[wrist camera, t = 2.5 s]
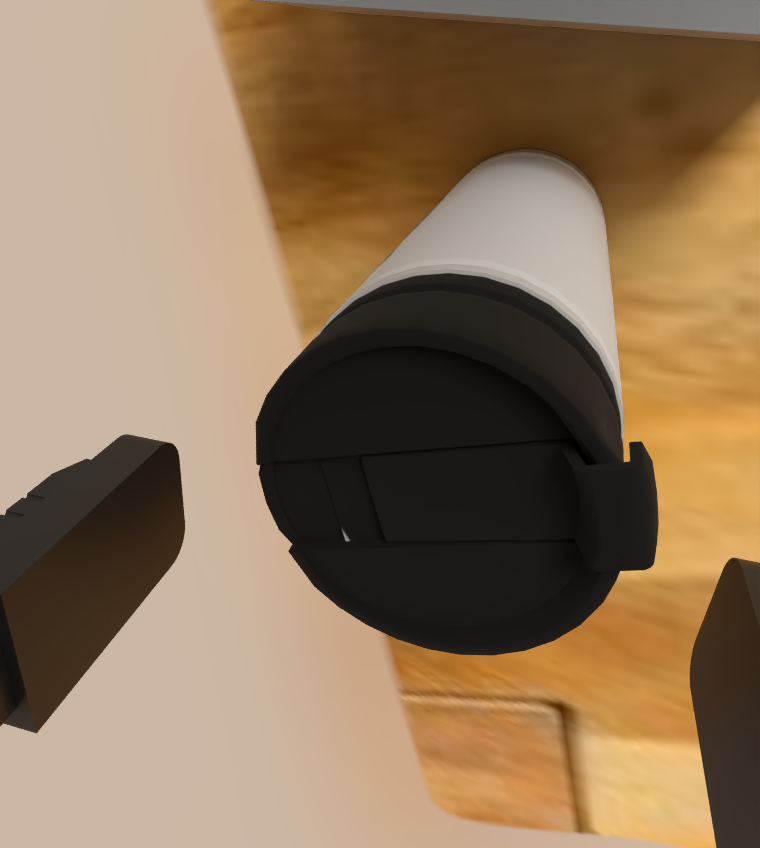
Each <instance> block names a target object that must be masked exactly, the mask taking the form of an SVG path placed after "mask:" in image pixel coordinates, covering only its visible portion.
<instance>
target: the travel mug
mask: <svg viewBox="0 0 760 848" xmlns="http://www.w3.org/2000/svg"><path fill="white" fill-rule="evenodd" d="M623 443H624V412H623V403H622V391H621V381H620V370H619V360H618V349H617V339H616V329H615V318H614V308H613V297H612V287H611V276H610V266H609V255H608V245H607V234H606V224H605V216H604V211H603V207H602V202H601V200H600V198H599V196H598V193H597V191H596V189H595V187H594V185H593V184H592V183H591V181H590V180H589V179H588V177H587V176H586V175H585V173H583V172H582V171H581V170H580V169H579V168H578V167H576V166H575V165H574V164H573V163H572V162H570V161H568V160H566V159H564V158H562V157H561V156H559V155H557V154H553V153H550V152H546V151H543V150H535V149H518V150H511V151H506V152H503V153H500V154H497V155H494V156H492V157H490V158H488V159H486V160H485V161H483V162H481V163H480V164H478V165H476V166H475V167H474V168H473V169H472V170H471V171H470V172H469V173H467V174H466V175H465V176H464V177H463V178H462V179H461V180H460V182H459V183H458V184H457V185H456V186H455V187H454V188H453V189H452V190H451V191H450V192H449V193H448V194H447V195H446V196H445V197H444V198H443V199H442V200H441V201H440V202H439V203H438V205H437V206H436V207H435V208H434V209H433V210H432V211H431V212H430V213H429V214H428V215H427V216H426V217H425V218H424V219H423V220H422V221H421V222H420V223H419V224H418V226H417V227H416V228H415V229H414V230H413V231H412V232H411V233H410V234H409V235H408V236H407V237H406V238H405V239H404V240H403V241H402V242H401V243H400V244H399V245H398V247H397V248H396V249H395V250H394V251H393V252H392V253H391V254H390V255H389V256H388V257H387V258H386V259H385V260H384V261H383V262H382V263H381V264H380V265H379V267H378V268H377V269H376V270H375V271H374V272H373V273H372V274H371V275H370V276H369V277H368V278H367V279H366V280H365V281H364V282H363V283H362V284H361V285H360V286H359V288H358V289H357V290H356V291H355V292H354V293H353V294H352V295H351V296H350V297H349V298H348V299H347V300H346V301H345V302H344V304H343V305H342V306H341V307H340V308H339V309H338V310H337V311H336V312H335V313H334V314H333V315H332V316H331V317H330V318H329V320H328V321H327V323H326V324H325V325H324V327H323V328H322V329H321V331H320V332H319V333H318V335H317V336H316V337H315V339H314V340H313V341H312V342H311V343H310V344H309V345H308V346H307V347H306V348H305V349H304V350H303V351H302V352H301V354H300V355H299V356H298V357H297V358H296V359H295V360H294V361H293V362H292V363H291V364H290V365H289V366H288V368H287V369H286V370H285V371H284V372H283V373H282V375H281V376H280V377H279V379H278V380H277V382H276V383H275V384H274V386H273V387H272V388H271V390H270V391H269V393H268V394H267V395H266V398H265V401H264V403H263V406H262V408H261V411H260V413H259V416H258V418H257V421H256V463H257V465H260V470H259V477H260V480H261V484H262V488H263V492H264V496H265V499H266V503H267V505H268V507H269V509H270V512H271V514H272V516H273V518H274V520H275V522H276V524H277V526H278V528H279V530H280V531H281V532H282V533H283V534H284V536H285V537H286V538H288V540H289V541H290V542H291V543H292V544H293V545H292V546H291V548H290V550H289V553H290V554H291V555H292V557H293V558H294V560H295V561H296V562H297V563H298V565H299V566H300V568H301V569H302V570H303V572H304V573H305V574H306V576H307V577H308V578H309V580H310V581H311V583H312V584H313V585H314V587H316V588H317V589H318V590H319V591H320V592H322V593H323V594H324V595H325V596H326V597H328V598H329V599H330V600H331V601H332V602H334V603H335V604H336V605H337V606H338V607H340V608H341V609H343V610H344V611H346V612H348V613H349V614H351V615H352V616H354V617H355V618H357V619H359V620H360V621H362V622H363V623H365V624H366V625H368V626H370V627H373V628H375V629H377V630H379V631H381V632H383V633H385V634H387V635H389V636H392V637H394V638H396V639H398V640H402V641H405V642H408V643H411V644H414V645H417V646H420V647H423V648H427V649H431V650H437V651H443V652H448V653H454V654H460V655H498V654H505V653H512V652H519V651H525V650H528V649H531V648H534V647H537V646H540V645H543V644H546V643H549V642H551V641H554V640H556V639H557V638H559V637H561V636H562V635H564V634H566V633H567V632H569V631H571V630H573V629H574V628H576V627H578V626H579V625H581V624H582V623H583V622H584V621H585V620H586V619H587V618H588V617H589V616H590V615H591V614H592V613H593V612H594V611H595V610H596V609H597V608H598V607H599V606H600V605H601V604H602V603H603V602H604V600H605V599H606V597H607V595H608V594H609V592H610V590H611V589H612V587H613V585H614V584H615V582H616V580H617V577H618V575H619V572H620V571H631V570H646V569H648V568H651V567H652V565H653V564H654V560H655V553H656V546H657V535H658V503H657V489H656V482H655V476H654V469H653V462H652V460H651V458H650V456H649V454H648V452H647V450H646V449H645V447H644V445H643V443H642V442H630V443H629V448H630V461H629V462H624V460H623Z"/></svg>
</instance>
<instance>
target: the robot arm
mask: <svg viewBox="0 0 760 848" xmlns="http://www.w3.org/2000/svg"><path fill="white" fill-rule="evenodd" d="M183 508H184V507H183V496H182V484H181V472H180V460H179V454H178V450H177V448H176V447H175V446H174V445H173V444H172V443H167V442H163V441H157V440H153V439H148V438H143V437H137V436H133V435H122V436H120V437H119V438H117V439H116V440H115V441H114V442H112V443H111V444H110V445H109V446H108V447H106V448H105V449H104V450H103V451H102V452H100V453H99V454H98V455H97V456H95V457H94V458H93V459H92V460H89V459H85V460H83V461H81V462H78V463H76V464H74V465H71V466H69V467H67V468H64V469H62V470H60V471H58V472H55V473H53V474H52V475H50V476H49V477H48V478H46V479H45V480H44V481H43V482H41V483H40V484H39V485H38V486H36V487H35V488H34V489H33V490H31V491H30V492H29V493H28V494H27V498H21V499H20V500H19V501H18V502H16V503H15V504H14V505H12V506H11V507H10V508H9V509H7V510H6V514H5V515H0V726H1V725H2V724H3V723H4V724H7V725H11V726H14V727H17V728H21V729H24V730H27V731H31V732H34V733H37V732H38V731H39V730H40V728H41V727H42V726H43V725H44V723H45V722H46V721H47V720H48V719H49V717H50V716H51V715H52V714H53V712H54V711H55V710H56V708H57V707H58V706H59V705H60V704H61V702H62V701H63V700H64V699H65V697H66V696H67V695H68V694H69V692H70V691H71V690H72V689H73V687H74V686H75V685H76V684H77V683H78V681H79V680H80V678H81V677H82V676H83V675H84V674H85V672H86V671H87V670H88V669H89V668H90V666H91V665H92V664H93V663H94V661H95V660H96V659H97V658H98V657H99V655H100V654H101V653H102V652H103V650H104V649H105V648H106V647H107V645H108V644H109V643H110V641H111V640H112V639H113V638H114V637H115V635H116V634H117V633H118V632H119V630H120V629H121V628H122V627H123V626H124V624H125V623H126V622H127V620H128V619H129V618H130V617H131V616H132V614H133V613H134V612H135V610H136V609H137V608H138V607H139V606H140V604H141V603H142V602H143V601H144V599H145V598H146V597H147V596H148V594H149V593H150V592H151V591H152V589H153V588H154V587H155V586H156V584H157V583H158V582H159V581H160V580H161V578H162V577H163V576H164V575H165V573H166V572H167V571H168V570H169V568H170V567H171V566H172V564H173V563H174V562H175V560H176V558H177V556H178V554H179V552H180V549H181V546H182V543H183V539H184V533H185V519H184V509H183ZM690 688H691V695H692V701H693V707H694V713H695V719H696V725H697V731H698V737H699V743H700V750H701V756H702V762H703V768H704V774H705V780H706V786H707V792H708V798H709V804H710V811H711V817H712V823H713V829H714V835H715V841H716V847H717V848H760V563H758V562H753V561H748V560H743V559H738V558H731V559H730V560H729V561H728V562H727V563H726V565H725V567H724V569H723V571H722V574H721V576H720V579H719V581H718V584H717V586H716V589H715V592H714V594H713V597H712V599H711V602H710V604H709V607H708V610H707V612H706V615H705V617H704V620H703V622H702V625H701V627H700V630H699V633H698V635H697V638H696V641H695V644H694V647H693V652H692V657H691V665H690Z"/></svg>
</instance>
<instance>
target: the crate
mask: <svg viewBox="0 0 760 848" xmlns="http://www.w3.org/2000/svg"><path fill="white" fill-rule="evenodd" d="M254 1H261V2H268V3H276V4H283V5H290V6H298V7H305V8H313V9H320V10H327V11H335V12H346V13H360V14H375V15H389V16H403V17H418V18H432V19H446V20H461V21H475V22H489V23H504V24H518V25H532V26H547V27H561V28H575V29H590V30H604V31H618V32H633V33H647V34H661V35H676V36H690V37H704V38H718V39H733V40H747V41H760V0H254Z"/></svg>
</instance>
